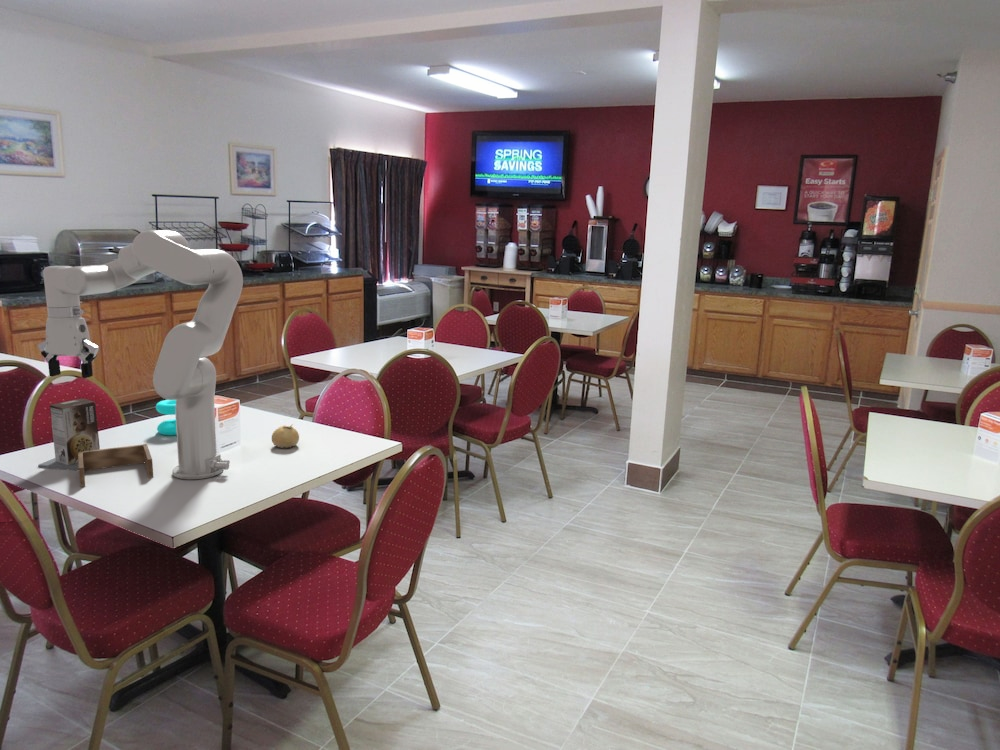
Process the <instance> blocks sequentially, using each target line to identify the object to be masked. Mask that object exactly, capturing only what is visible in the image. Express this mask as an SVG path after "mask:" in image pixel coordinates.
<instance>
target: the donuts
mask: <svg viewBox="0 0 1000 750" xmlns="http://www.w3.org/2000/svg"><path fill="white" fill-rule="evenodd" d="M175 406H176V400H168V399H165V400H164V399H163V400H160V401H158V402H157V403H156V405H155V410H156V411H157V412H158V413H159V414H162V415H165V416H166V415H169V416H173V415H174V416H176V414H175ZM156 431H157V432H158V433H159V434H160V435H164V436H177V432H176V418H173V419H167V420H164V421H162V422H160V423H159V424H157V427H156Z"/></svg>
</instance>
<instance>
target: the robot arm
mask: <svg viewBox="0 0 1000 750" xmlns="http://www.w3.org/2000/svg"><path fill="white" fill-rule="evenodd" d="M157 272H158V273H160V274H162V275H165V276H166V277H168V278H170V279H173V280H175V281H177V282H179V283H181V284H185V285H189V286H198V285H208V287H207V288H206V289H205V291H204V293H203V295H202V296H201V298H200V300H199V302H198V304H197V309H196V311H195V313H194V316H193V318H192V319H191V320H190V321H187V322H183V323H180V324H177V325H175V326H174V327H172V328H171V330H169V332H168V333H167V334H166V336H165V338H164V341H163V343H162V346H161V348H160V349H161V350H160V353H159V355H158V358H157V361H156V363H155V367H154V370H153V375H152V384H153V385H152V386H153V388H154V390H155V392H156V394H157V395H159V397H161V398H162V399H163V400H164V399H165V400H176V406H175V414H176V415H175V419H176V432H177V435H176V444H177V445H176V446H177V459H178V461H177V463H178V465H176V466H175V467H173V469H172V476H173V477H175V478H176V479H181V480H202V479H208V478H211V477H216V476H217V475H219V474H221V473H222V472H224V470H225V471H229V468H230V463H231V462H230V459H229V460H228V459H222V458H221V456H222V455H221V454H220V453H217V435H216V416H215V415H216V414H215V412H216V410H215V397H216V396H215V392H216V385H217V370H216V367H215V365H214V363H213V362H212V361H211V360H210V359H209V358H207V357H209V356H212V355H215V354H217V353H218V352H219V351H220V350H221V349H222V347H223V344H224V342H225V339H226V335H227V333H228V330H229V327H230V324H231V321H232V319H233V315H234V312H235V309H236V308H237V305H238V303H239V300H240V297H241V294H242V290H243V286H244V285H243V284H244V277H243V272H242V269H241V267H240V265H239V263H238V262H237V260H236V259H235V258H234V257H233V256H232V255H231V254H229V253H228V252H226V251H224V250H221V249H216V248H203V249H190V246H189V242H188V240H187V239H186V237H184V236H183V235H182V234H181V233H179V232H177V231H174V230H169V229H168V230H166V229H165V230H164V229H162V230H161V229H160V230H159V229H157V230H156V229H150V230H144V231H142V232H140V233H138V234H137V235H136V236H135V237H134V239H133V242H131V243H130V244H126V245H125V246H123V247H121V248H120V249H119V252H118V255H117V258H116V259H115V260H112V261H109V262H106V263H104V264H94V265H80V266H79V265H75V266H70V265H50V266H45V267H44V269H43V272H42V275H43V282H44V283H43V284H44V293H45V301H46V309H47V311H46V312H47V318H46V323H45V340H44V341H42V342H40V343H38V344H37V349H38V350H39V351H40V352H41V353H40V354H41V356H42V357H44V360H45V362H47V365H48V366H47V367H48V374H49V377H55V376H59V375H61V367H60V366H61V365H60V360H59V359H58V358H59V357H60V356H62V357H78V359H79V360H80V361H81V363H80V369H81V370H80V371H81V377H82V378H83V379H87V378H91V377H93V375H94V374H93V373H94V372H93V362H94V361H95V359H96V357H97V356H98V353H99V350H100V347H99V346H98V345H97V344H95V343H93V342H92V341H91V337H90V336H91V335H90V331H89V328H88V325H87V321H86V319H85V318H84V317H82V315H84V313H85V312H84V309H83V308H82V309H81V301H80V297H81V296H82V297H83V296H90V295H100V294H108V293H113V292H115V291H117V290H120V289H123V288H125V287H128V286H130V285H133V284H135V283H137V282H138V281H140V280H141V278H144V277H146V276H149V275H152V274H155V273H157Z"/></svg>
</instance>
